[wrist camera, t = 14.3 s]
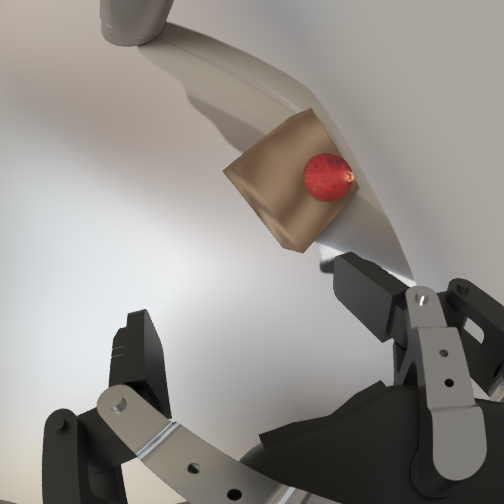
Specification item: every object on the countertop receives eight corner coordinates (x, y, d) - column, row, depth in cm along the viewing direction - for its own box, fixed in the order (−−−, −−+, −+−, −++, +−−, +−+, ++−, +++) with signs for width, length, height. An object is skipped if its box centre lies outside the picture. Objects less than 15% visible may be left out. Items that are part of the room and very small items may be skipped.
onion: (284, 162, 32) (327, 154, 25) (318, 153, 34) (362, 144, 27) (297, 207, 34) (341, 209, 27) (329, 194, 36) (374, 194, 29)
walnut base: (222, 171, 34) (237, 165, 30) (290, 116, 37) (311, 108, 33) (282, 247, 40) (303, 253, 36) (337, 188, 43) (359, 188, 39)
